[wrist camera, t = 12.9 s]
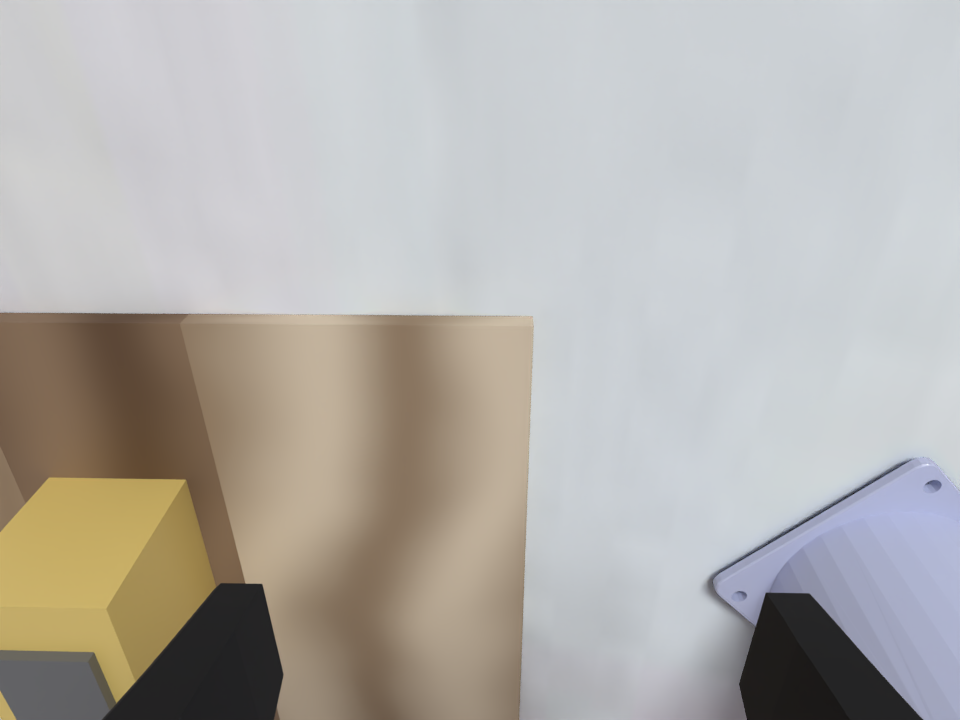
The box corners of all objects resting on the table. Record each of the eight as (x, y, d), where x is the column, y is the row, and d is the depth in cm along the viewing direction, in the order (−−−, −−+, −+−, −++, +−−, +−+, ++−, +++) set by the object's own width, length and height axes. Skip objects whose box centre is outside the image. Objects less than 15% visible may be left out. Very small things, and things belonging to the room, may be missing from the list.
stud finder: (186, 479, 21) (99, 618, 17) (237, 663, 26) (180, 813, 21) (48, 477, 22) (-74, 614, 17) (123, 661, 26) (42, 809, 21)
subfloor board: (532, 316, 19) (533, 326, 18) (517, 739, 29) (517, 753, 28) (-133, 312, 19) (-150, 321, 19) (77, 729, 29) (70, 743, 29)
